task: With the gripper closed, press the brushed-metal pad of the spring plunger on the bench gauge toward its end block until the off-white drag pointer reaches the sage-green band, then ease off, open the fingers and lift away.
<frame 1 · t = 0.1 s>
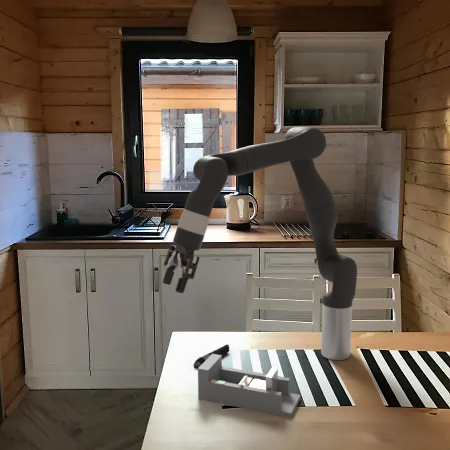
hand: (172, 288, 141), 31 cm above the table, tool tilted 20°, fingers open, 8 cm apart
drag pointer: (244, 386, 145), point 4 cm above the table, slide at 0.0 cm
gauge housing: (249, 399, 146), on the table
plunger: (262, 384, 144), point 5 cm above the table, slide at 0.0 cm
electric trimmer: (211, 361, 171), on the table
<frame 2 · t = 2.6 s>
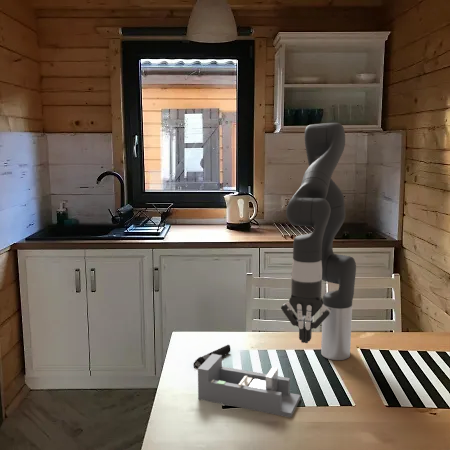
hand: (305, 341, 138), 19 cm above the table, tool pointing down, fingers closed
nothing on the table moved.
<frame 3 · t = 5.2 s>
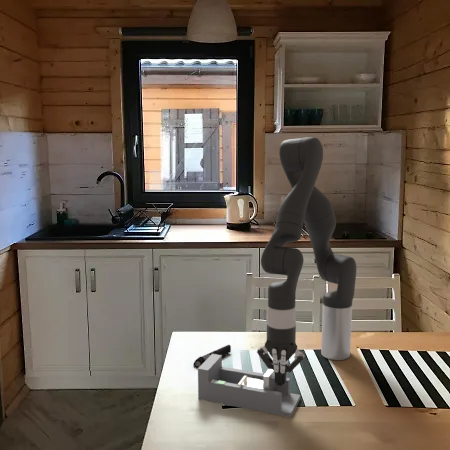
hand: (280, 384, 142), 6 cm above the table, tool pointing down, fingers closed
drag pointer: (243, 386, 145), point 4 cm above the table, slide at 0.2 cm, touching plunger
plunger: (260, 383, 144), point 5 cm above the table, slide at 0.7 cm, touching drag pointer, gripper
everything else where it was.
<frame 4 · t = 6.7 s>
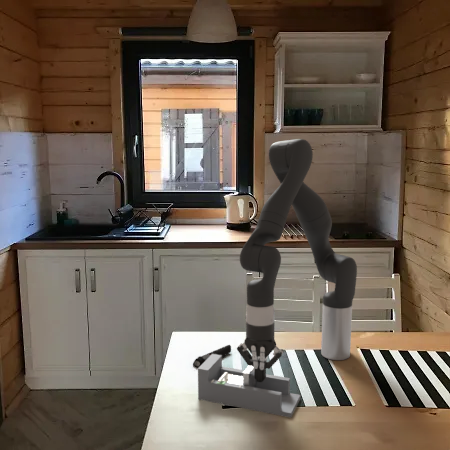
hand: (260, 380, 144), 6 cm above the table, tool pointing down, fingers closed
drag pointer: (224, 383, 147), point 4 cm above the table, slide at 5.8 cm, touching plunger
plunger: (240, 380, 146), point 5 cm above the table, slide at 6.3 cm, touching drag pointer, gripper
everything else where it was.
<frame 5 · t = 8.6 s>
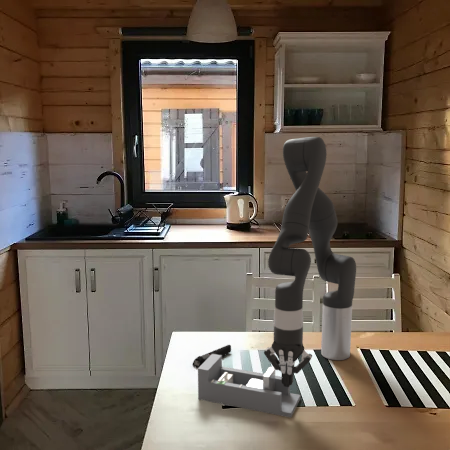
hand: (287, 385, 142), 6 cm above the table, tool pointing down, fingers closed
drag pointer: (224, 383, 147), point 4 cm above the table, slide at 5.8 cm
plunger: (260, 383, 144), point 5 cm above the table, slide at 0.7 cm
everything else where it was.
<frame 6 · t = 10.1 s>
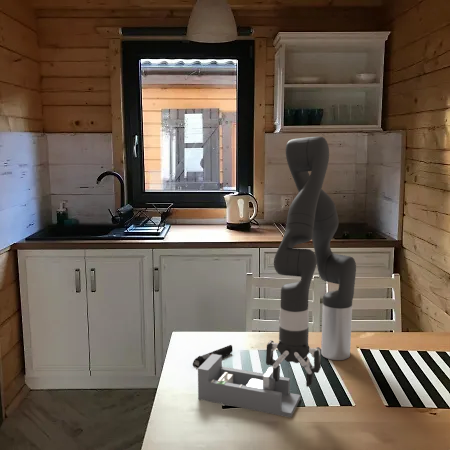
hand: (292, 382, 141), 7 cm above the table, tool pointing down, fingers open, 8 cm apart
plunger: (260, 383, 144), point 5 cm above the table, slide at 0.7 cm, touching gripper
everything else where it was.
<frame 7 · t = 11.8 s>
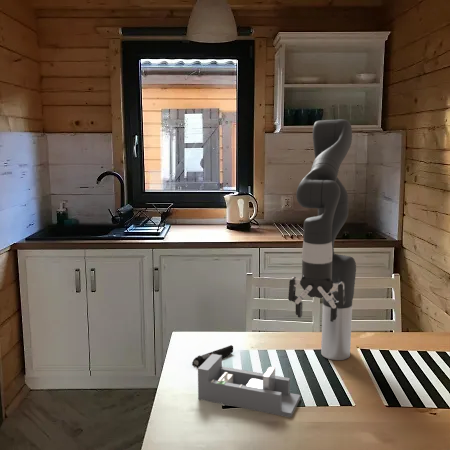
hand: (316, 318, 139), 24 cm above the table, tool pointing down, fingers open, 8 cm apart
plunger: (260, 383, 144), point 5 cm above the table, slide at 0.7 cm
everything else where it was.
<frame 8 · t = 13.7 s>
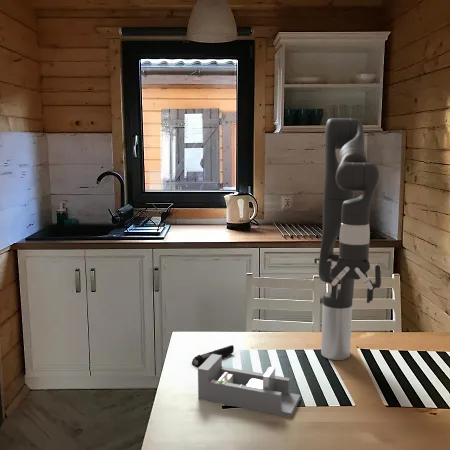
hand: (351, 300, 141), 28 cm above the table, tool pointing down, fingers open, 8 cm apart
nothing on the table moved.
at the end: drag pointer slide at 5.8 cm; plunger slide at 0.7 cm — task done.
